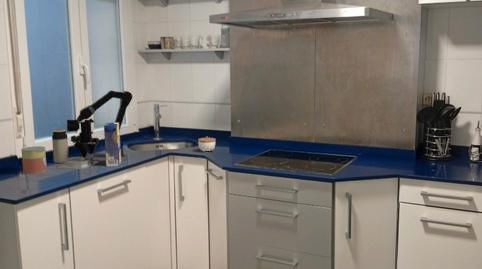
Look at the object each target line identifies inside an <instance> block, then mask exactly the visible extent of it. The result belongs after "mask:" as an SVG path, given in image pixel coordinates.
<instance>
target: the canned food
mask: <svg viewBox="0 0 482 269" xmlns="http://www.w3.org/2000/svg"><path fill="white" fill-rule="evenodd" d="M20 150H21V157H22V158H21V162H22V170H23V171H22V173H23V174H26V175H36V174H42V173H46V172H47V171H48V169H47V168H48V167H47V157H46V156H47V155H46V153H47V152H46V147H45V146H41V145H40V146H35V145H34V146H27V147H23V148H21V149H20Z"/></svg>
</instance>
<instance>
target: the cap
mask: <svg viewBox="0 0 482 269" xmlns="http://www.w3.org/2000/svg"><path fill="white" fill-rule="evenodd" d="M81 157H83V156H82V155H81ZM86 157H90V158H91V161H93V160H94V153H93V154H90V153H87V155H86Z"/></svg>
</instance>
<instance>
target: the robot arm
mask: <svg viewBox="0 0 482 269" xmlns="http://www.w3.org/2000/svg"><path fill="white" fill-rule="evenodd" d="M112 99H119V107H118V111H117V114H116V116H115V119H114V123H119V129H120V130H121V127H122V123H123V120H124V117H125V115H126V111H127V108H128V106H129V105H130V103H131V101H132V100H133V94H132V92H131V91H128V90H124V91H115V90H109V91H107V93H105V94H104V95H102V96H101V97H100V98H98V99H97V100H96V101H95V102H93V103H92V104H90V105H87V106H86V107H83V108H81V109H80V111H79V114H78V116H77V118H76V119H66V132H68V133H69V132H79V131H80V132H79V133H78V134H79V135H77V136H76V135H72V136H70V141H71V142H72V143H73V147H74V149H75V148H76V149H77V150H79V152H80V153H81V157H82V156H83V157H86V155H87V154H93V155H94V152H95V149H96V147H97V145H98V144H99V143H100V139H99V138H98V137H93V134H94V132H93V131H92V124H93V123H95V120H93V118H91V117H92V116H93V115H94V114H95V112H97V110H98V109H99V108H101V107H103V106H104V105H105V104H106V103H108V102H109V101H110V100H112ZM78 130H79V131H78ZM120 149H121V158H123V157H124V156H125V154H124V142H122V141H121V140H120Z"/></svg>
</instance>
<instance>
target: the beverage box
mask: <svg viewBox="0 0 482 269" xmlns="http://www.w3.org/2000/svg"><path fill="white" fill-rule="evenodd" d="M120 130H121V128H120V129H119V123H115V122H106V123H105V124H104V125H103V131H104V132H103V134H104V152H105V154H104V155H105V167H118V165H119V166H120V165H121V162H122V157H121V149H120V141H121V134H120V132H121V131H120Z"/></svg>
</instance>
